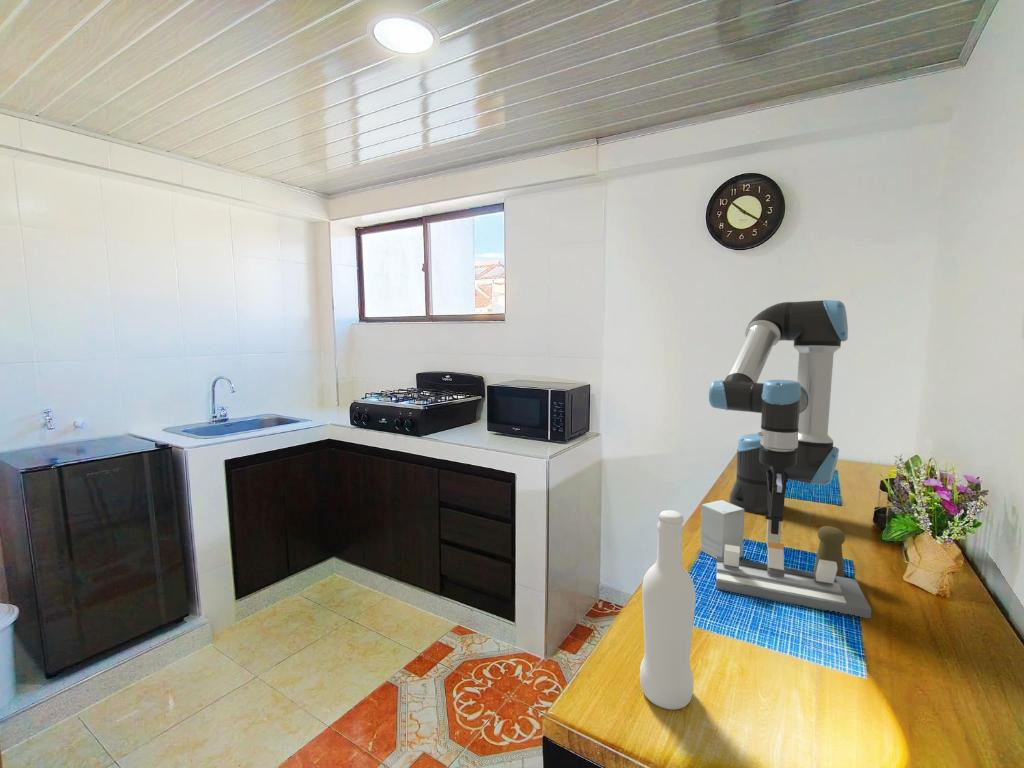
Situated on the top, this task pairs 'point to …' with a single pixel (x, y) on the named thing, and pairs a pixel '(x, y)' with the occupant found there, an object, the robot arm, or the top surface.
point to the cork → (831, 547)
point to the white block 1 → (731, 556)
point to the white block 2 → (826, 572)
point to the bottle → (668, 620)
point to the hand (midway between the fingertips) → (773, 544)
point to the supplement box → (721, 527)
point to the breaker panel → (793, 587)
